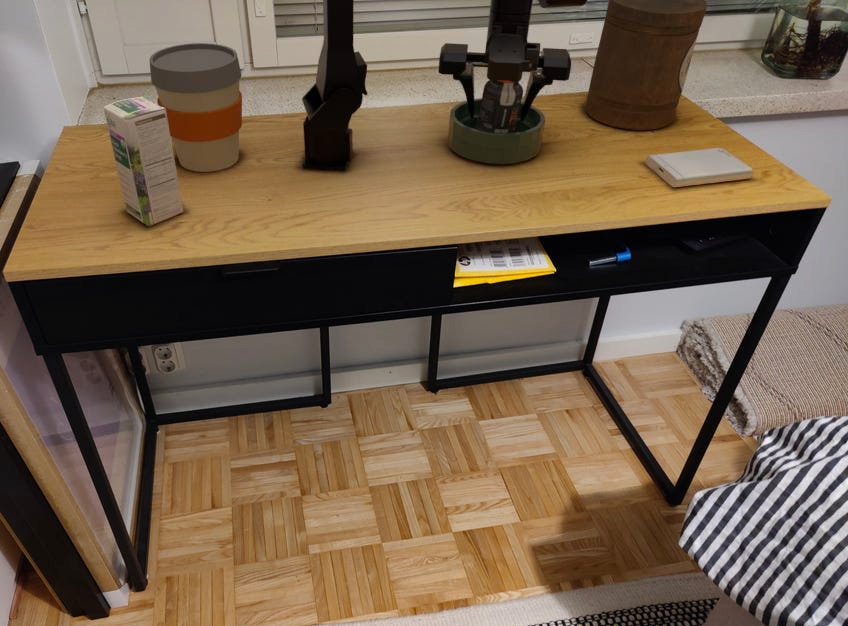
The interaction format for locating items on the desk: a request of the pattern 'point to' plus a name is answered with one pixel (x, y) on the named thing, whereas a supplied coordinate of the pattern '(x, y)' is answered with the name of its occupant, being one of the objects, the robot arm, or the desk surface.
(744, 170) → the hard drive
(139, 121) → the syrup box
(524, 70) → the robot arm
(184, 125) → the reusable coffee cup
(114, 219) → the desk surface
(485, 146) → the bowl
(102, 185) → the desk surface
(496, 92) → the pill bottle
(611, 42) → the wooden container
